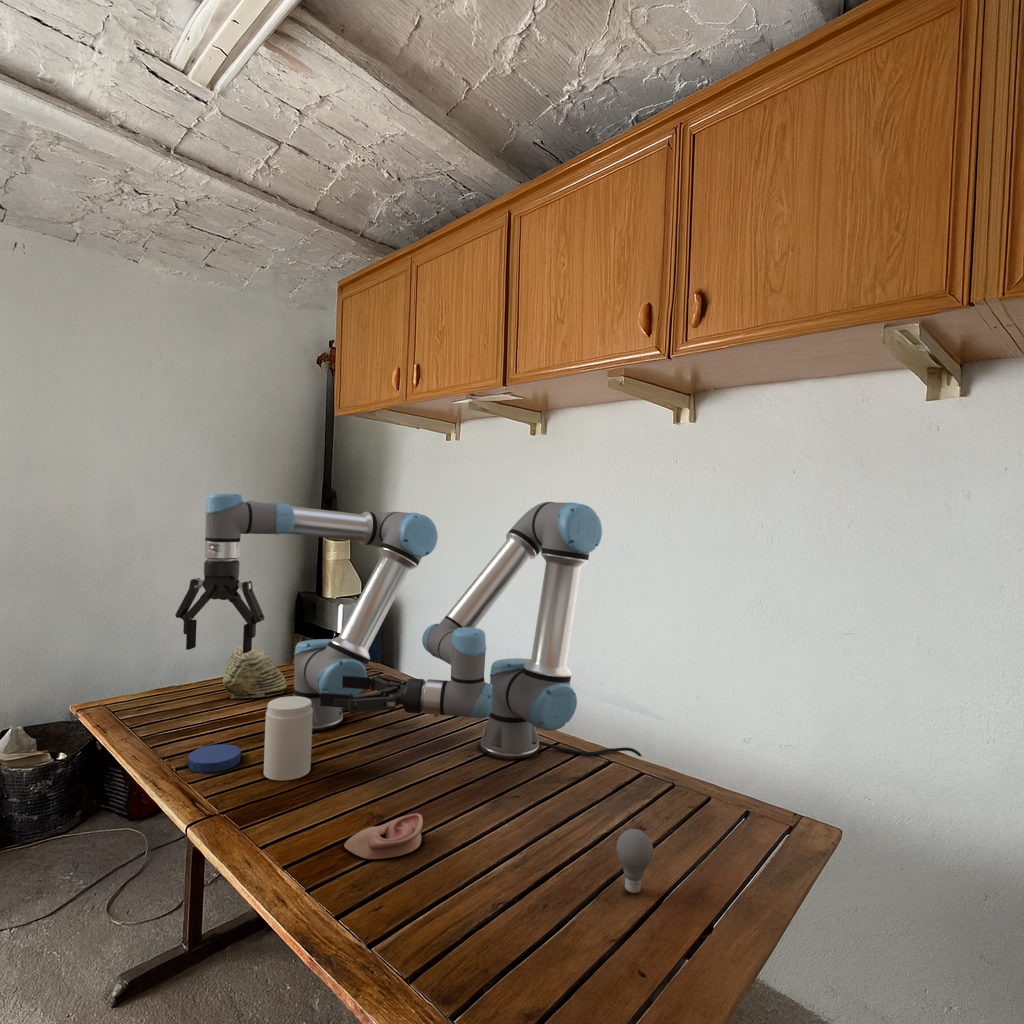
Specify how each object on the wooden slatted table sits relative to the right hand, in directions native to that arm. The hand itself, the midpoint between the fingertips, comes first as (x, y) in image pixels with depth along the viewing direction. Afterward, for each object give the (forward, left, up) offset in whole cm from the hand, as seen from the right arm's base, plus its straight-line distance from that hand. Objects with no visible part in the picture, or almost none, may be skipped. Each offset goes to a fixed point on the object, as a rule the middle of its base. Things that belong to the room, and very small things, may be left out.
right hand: (332, 689), depth 144 cm
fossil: (+18, -64, -19) cm, 69 cm away
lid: (+25, -13, -18) cm, 33 cm away
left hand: (+25, -13, +7) cm, 29 cm away
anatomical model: (-7, +33, -19) cm, 39 cm away
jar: (+9, -4, -19) cm, 22 cm away
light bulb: (-45, +58, -19) cm, 76 cm away
